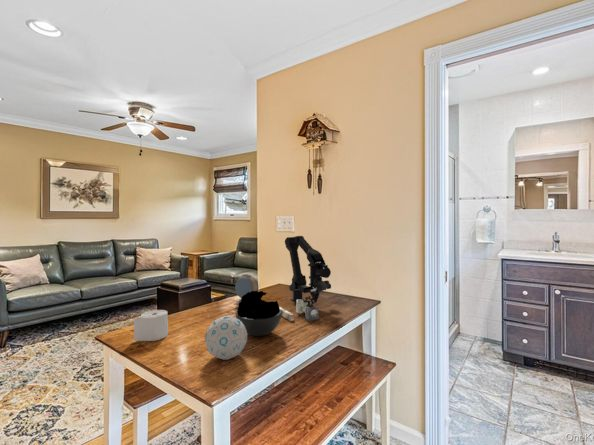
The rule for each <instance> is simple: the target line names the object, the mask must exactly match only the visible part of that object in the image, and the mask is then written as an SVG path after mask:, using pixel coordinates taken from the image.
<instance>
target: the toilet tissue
mask: <svg viewBox="0 0 594 445" xmlns="http://www.w3.org/2000/svg"><path fill="white" fill-rule="evenodd" d="M168 319H169V317H168V310H165V309H155V310H154V309H153V310H148V311H146V312H143V313H140V318H137V317H136V318H135V317H134V318H133V336H134V337H133V341H135V342H154V341H159V340H162V339H164V338H166V337H167V336H168V335H169V327H168V326H169V324H168V321H169V320H168Z"/></svg>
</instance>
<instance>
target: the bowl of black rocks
mask: <svg viewBox="0 0 594 445" xmlns="http://www.w3.org/2000/svg"><path fill="white" fill-rule="evenodd" d="M267 294H268V292H265V291H263V290H260V291H259V290H258V291H257V290H256V291H251V292H248V293H246V295H243V296H242V299H241V298H240V299H241V302H240V303H239V305H238V307H237V311H236V312H235V318H237V319H239V320H240V321H241V322H242V323H243V325H244V326H245V328H246V331H247V335H249V336H253V337H263V336H267V335H269V334H271V333H272V332H273V331H274V330H275V329H276V328H277V327H278V325H279V324H280V321H281V320H282V317H283V316H282V311H281V309H279V307H280V305H279V303H278V300H275V301H272V300H271V301H266V300H264V299H262V298H263V296H265V295H267Z"/></svg>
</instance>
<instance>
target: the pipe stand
mask: <svg viewBox="0 0 594 445" xmlns="http://www.w3.org/2000/svg"><path fill="white" fill-rule="evenodd" d="M319 311H320V310H319V307H316V306H313V307H311V306H310V307H309V306H305V307H304V308H303V313H305V315H304V316H305V320H306V321H307V322H311V321H316V320H317V321H318V320H319V314H320V312H319Z"/></svg>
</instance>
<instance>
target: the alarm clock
mask: <svg viewBox="0 0 594 445" xmlns="http://www.w3.org/2000/svg"><path fill="white" fill-rule="evenodd" d="M234 287H235V292H236V294H237V296H238V297H239V300H238V301H236V302H234V303H233V305H236V306H239V303H240V302H241V299H242V296H243V295H246V293H248V292H251V291H256V290H257V291H258V292H259V283H258V280H257V279H256V278H255V277H254V276H253V275H251V274H249V273H244V274H242V275H241V276H240V277H238V278H237V280H236V281H235V286H234Z"/></svg>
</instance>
